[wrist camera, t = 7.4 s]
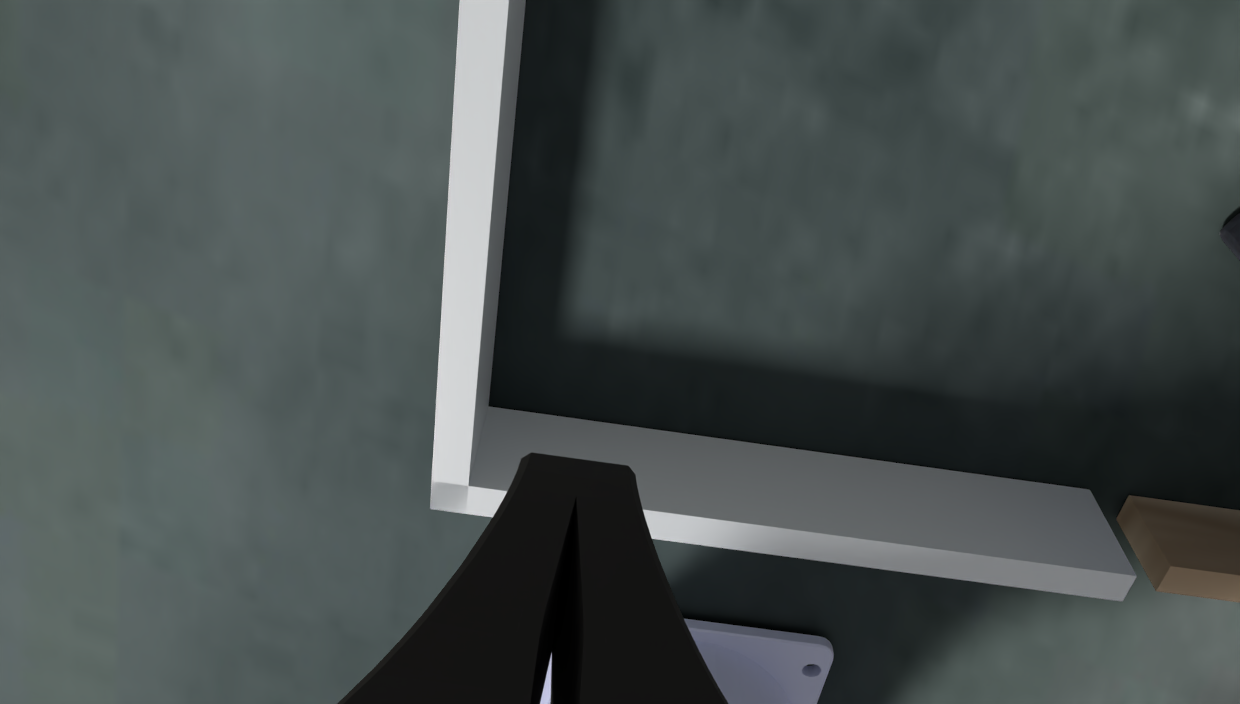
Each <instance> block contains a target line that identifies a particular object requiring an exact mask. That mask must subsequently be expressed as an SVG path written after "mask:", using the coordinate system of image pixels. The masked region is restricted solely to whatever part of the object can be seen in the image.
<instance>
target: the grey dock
mask: <svg viewBox="0 0 1240 704" xmlns="http://www.w3.org/2000/svg"><path fill="white" fill-rule="evenodd" d="M525 4H526V0H460V4H459V21H458V38H457V55H456V73H455V90H454V107H453V124H452V141H451V158H450V175H449V192H448V210H447V227H446V244H445V261H444V278H443V295H442V312H441V329H440V346H439V364H438V381H437V398H436V415H435V432H434V449H433V466H432V483H431V501H430V509H435V510H442V511H450V512H457V513H464V514H472V515H479V516H487V517H493V516H494V514H495V513H496V511H497V509H498V507H499V506H500V504H501V502H502V501H503V499H504V497H505V495H506V493H507V491H508V489H509V487H510V485H511V483H512V481H513V479H514V476H515V474H516V472H517V469H518V467H519V464H520V461H521V458H523V457H524V456H526V455H528V454H529V453H531V452H533V453H540V454H547V455H555V456H562V457H569V458H577V459H584V460H591V461H598V462H606V463H613V464H620V465H628V466H629V467H630V468H631V469H632V471H633V472H634V473H635V474H636V482H637V487H638V492H639V496H640V501H641V505H642V508H643V512H644V515H645V519H646V522H647V525H648V528H649V532H650V535H651V538H652V539H659V540H666V541H674V542H681V543H689V544H696V545H704V546H711V547H719V548H726V549H734V550H741V551H749V552H756V553H764V554H771V555H779V556H786V557H794V558H801V559H809V560H816V561H824V562H831V563H839V564H846V565H853V566H861V567H868V568H876V569H883V570H891V571H898V572H906V573H913V574H921V575H928V576H936V577H943V578H951V579H958V580H966V581H973V582H981V583H988V584H996V585H1003V586H1011V587H1018V588H1026V589H1033V590H1040V591H1048V592H1055V593H1063V594H1070V595H1078V596H1085V597H1093V598H1100V599H1108V600H1115V601H1123V600H1124V598H1125V596H1126V594H1127V593H1128V591H1129V589H1130V587H1131V586H1132V584H1133V582H1134V580H1135V579H1136V577H1137V575H1136V574H1135V572H1134V570H1133V568H1132V566H1131V564H1130V563H1129V561H1128V559H1127V557H1126V555H1125V553H1124V552H1123V550H1122V548H1121V546H1120V544H1119V542H1118V540H1117V539H1116V537H1115V535H1114V533H1113V531H1112V529H1111V528H1110V526H1109V524H1108V522H1107V520H1106V518H1105V517H1104V515H1103V513H1102V511H1101V509H1100V507H1099V505H1098V504H1097V502H1096V500H1095V498H1094V496H1093V494H1092V493H1091V491H1090V490H1089V489H1082V488H1075V487H1067V486H1060V485H1053V484H1046V483H1038V482H1031V481H1024V480H1017V479H1010V478H1002V477H995V476H988V475H981V474H973V473H966V472H959V471H952V470H945V469H937V468H930V467H923V466H916V465H908V464H901V463H894V462H887V461H880V460H872V459H865V458H858V457H851V456H843V455H836V454H829V453H822V452H815V451H807V450H800V449H793V448H786V447H778V446H771V445H764V444H757V443H750V442H742V441H735V440H728V439H721V438H713V437H706V436H699V435H692V434H685V433H677V432H670V431H663V430H656V429H648V428H641V427H634V426H627V425H620V424H612V423H605V422H598V421H591V420H583V419H576V418H569V417H562V416H555V415H547V414H540V413H533V412H526V411H518V410H511V409H504V408H497V407H490V406H489V396H490V385H491V374H492V363H493V352H494V341H495V331H496V320H497V309H498V298H499V287H500V276H501V265H502V255H503V244H504V233H505V222H506V211H507V200H508V189H509V178H510V168H511V157H512V146H513V135H514V124H515V113H516V102H517V91H518V81H519V70H520V59H521V48H522V37H523V26H524V15H525Z"/></svg>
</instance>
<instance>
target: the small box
mask: <svg viewBox="0 0 1240 704" xmlns="http://www.w3.org/2000/svg"><path fill="white" fill-rule="evenodd" d="M1220 236H1221V238H1222V240H1223V241H1224V243H1225V244H1226V245H1227V246H1228V247H1229V249H1230V250H1231V251H1232V252H1233V253H1234V255H1235V256H1236V257H1237V258H1238V259H1239V261H1240V213H1239V214H1238V215H1236V216H1235V217H1234V218H1233V219H1231V220H1230V221H1229V222H1228V223H1227V224H1226V225H1225V226H1224V227H1223V228H1222V229H1221V231H1220Z"/></svg>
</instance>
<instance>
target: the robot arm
mask: <svg viewBox="0 0 1240 704" xmlns="http://www.w3.org/2000/svg"><path fill="white" fill-rule="evenodd" d="M833 658H834V653H833V647H832V644H831V643H830V641H829V640H827V639H826V638H823V637H820V636H814V635H806V634H799V633H791V632H783V631H776V630H768V629H760V628H753V627H745V626H737V625H730V624H722V623H714V622H707V621H699V620H691V619H684V618H683V616H682V614H681V612H680V609H679V607H678V605H677V603H676V600H675V598H674V595H673V593H672V591H671V588H670V586H669V583H668V581H667V578H666V576H665V573H664V571H663V568H662V566H661V563H660V561H659V558H658V555H657V552H656V550H655V547H654V544H653V541H652V538H651V535H650V532H649V528H648V525H647V522H646V519H645V515H644V512H643V508H642V505H641V501H640V496H639V492H638V487H637V482H636V474H635V473H634V472H633V471H632V469H631V468H630V467H629V466H628V465H620V464H613V463H606V462H598V461H591V460H584V459H577V458H569V457H562V456H555V455H547V454H540V453H533V452H531V453H529V454H528V455H526V456H524V457H523V458H521V461H520V464H519V467H518V469H517V472H516V474H515V476H514V479H513V481H512V483H511V485H510V487H509V489H508V491H507V493H506V495H505V497H504V499H503V501H502V502H501V504H500V506H499V507H498V509H497V511H496V513H495V514H494V516H493V518H492V519H491V521H490V523H489V524H488V526H487V527H486V529H485V530H484V532H483V533H482V535H481V536H480V538H479V539H478V541H477V542H476V544H475V545H474V547H473V548H472V550H471V551H470V553H469V554H468V556H467V557H466V559H465V560H464V562H463V563H462V564H461V566H460V567H459V569H458V570H457V571H456V573H455V574H454V575H453V576H452V578H451V579H450V580H449V582H448V583H447V584H446V585H445V587H444V588H443V589H442V591H441V592H440V593H439V594H438V596H437V597H436V598H435V600H434V601H433V602H432V603H431V605H430V606H429V607H428V609H427V610H426V611H425V612H424V613H423V615H422V616H421V617H420V618H419V619H418V621H417V622H416V623H415V624H414V625H413V626H412V628H411V629H410V630H409V631H408V632H407V633H406V634H405V635H404V637H403V638H402V639H401V640H400V641H399V642H398V643H397V644H396V645H395V646H394V647H393V649H392V650H391V651H390V652H389V653H388V654H387V655H386V656H385V657H384V658H383V659H382V660H381V661H380V662H379V663H378V665H377V666H376V667H375V668H374V669H373V670H372V671H371V672H370V673H368V674H367V675H366V676H365V677H364V678H363V679H362V680H361V681H360V682H359V683H358V684H357V685H356V686H355V687H354V688H353V689H352V690H351V691H350V692H349V693H348V694H347V695H346V696H345V697H344V698H343V699H342V700H341V701H340V702H339V703H338V704H817V702H818V699H819V697H820V694H821V691H822V689H823V686H824V683H825V681H826V678H827V675H828V672H829V670H830V667H831V664H832V662H833ZM808 664H815V665H813V666H806V665H808Z"/></svg>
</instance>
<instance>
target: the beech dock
mask: <svg viewBox="0 0 1240 704" xmlns="http://www.w3.org/2000/svg"><path fill="white" fill-rule="evenodd" d="M1116 520H1117V522H1118V523H1119V525H1120V527H1121V529H1122V531H1123V533H1124V534H1125V536H1126V538H1127V540H1128V542H1129V543H1130V545H1131V547H1132V549H1133V551H1134V552H1135V554H1136V556H1137V558H1138V560H1139V561H1140V563H1141V565H1142V567H1143V569H1144V570H1145V572H1146V574H1147V576H1148V578H1149V579H1150V581H1151V583H1152V585H1153V587H1154V588H1155V590H1156V591H1159V592H1166V593H1173V594H1181V595H1188V596H1196V597H1203V598H1211V599H1218V600H1226V601H1233V602H1240V510H1233V509H1226V508H1219V507H1212V506H1205V505H1197V504H1190V503H1183V502H1176V501H1168V500H1161V499H1154V498H1147V497H1140V496H1132V495H1129V496H1128V498H1127V500H1126V501H1125V503H1124V505H1123V507H1122V509H1121V511H1120V513H1119V515H1118V516H1117V518H1116Z"/></svg>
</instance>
